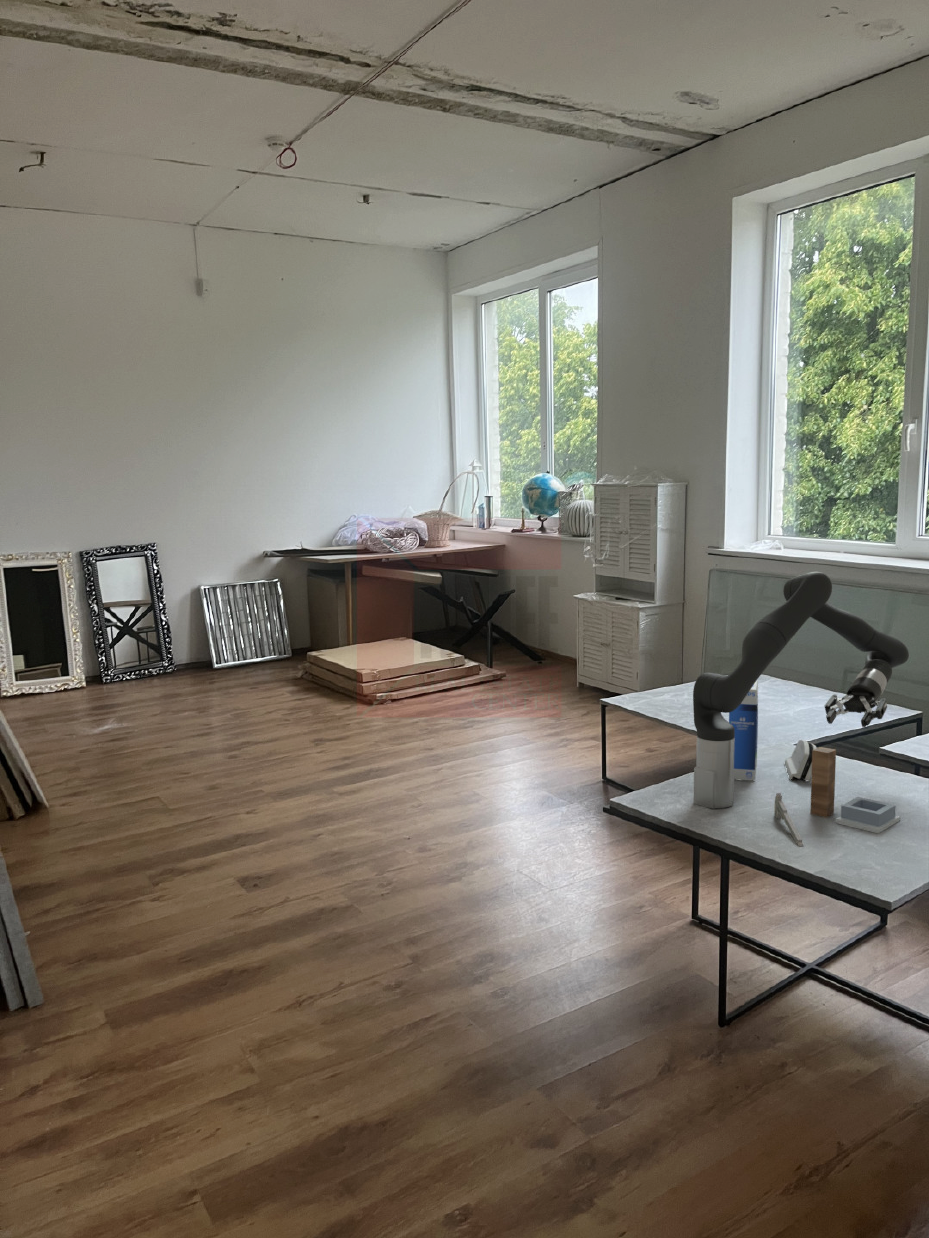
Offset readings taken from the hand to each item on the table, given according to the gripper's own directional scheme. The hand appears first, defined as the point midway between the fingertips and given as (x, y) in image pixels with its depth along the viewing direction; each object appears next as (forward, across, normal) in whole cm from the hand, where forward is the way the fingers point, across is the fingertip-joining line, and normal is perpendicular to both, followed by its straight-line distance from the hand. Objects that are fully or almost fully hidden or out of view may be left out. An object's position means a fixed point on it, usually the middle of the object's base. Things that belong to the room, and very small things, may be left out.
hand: (845, 722), depth 230 cm
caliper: (+37, -2, +6) cm, 37 cm away
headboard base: (+21, +10, +13) cm, 26 cm away
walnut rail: (+22, 0, +12) cm, 25 cm away
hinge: (-5, -18, +23) cm, 30 cm away
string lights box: (+5, -30, +18) cm, 35 cm away
